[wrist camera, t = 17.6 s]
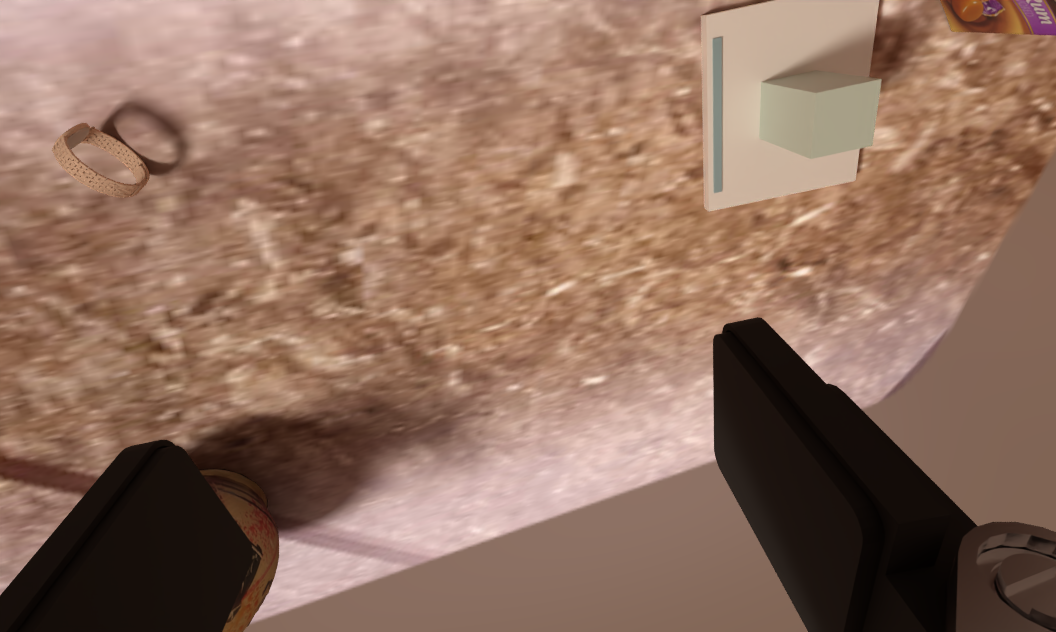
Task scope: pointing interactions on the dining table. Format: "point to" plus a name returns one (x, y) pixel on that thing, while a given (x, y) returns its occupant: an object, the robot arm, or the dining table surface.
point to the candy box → (1002, 16)
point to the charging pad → (765, 54)
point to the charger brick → (819, 112)
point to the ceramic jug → (263, 534)
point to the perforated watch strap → (98, 182)
